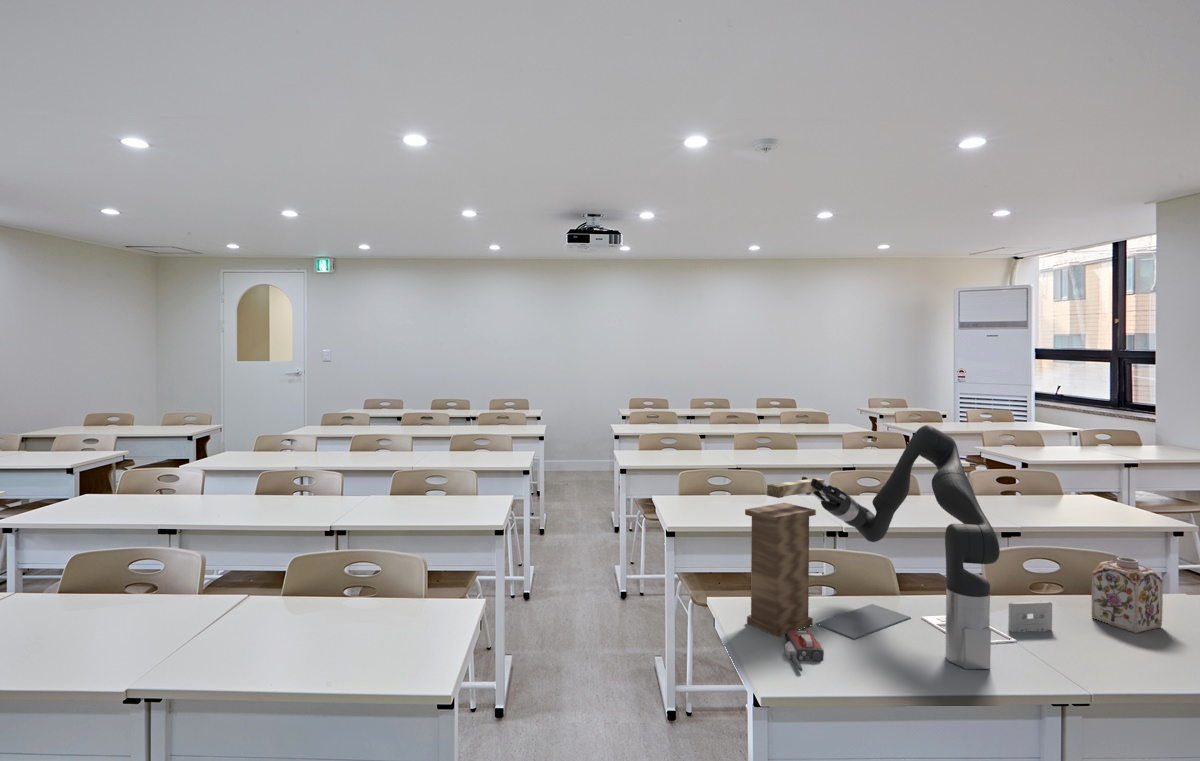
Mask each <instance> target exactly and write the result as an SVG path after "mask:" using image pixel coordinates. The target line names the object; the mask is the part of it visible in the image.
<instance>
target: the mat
mask: <svg viewBox="0 0 1200 761" xmlns="http://www.w3.org/2000/svg"><path fill="white" fill-rule="evenodd" d="M910 619H911V616H909V615H906V614H903V613H900V612H897V611H895V610H892V609H888V608H886V607H883V606H881V605H877V604H874V603H871V604H869V605H865V606H861V607H860V608H856V609H853V610H850V611H848V612H847V611H846V612H845V613H841V614H838V615H835V616H833V617H829V618H827V619H823V620H821V621H818V622H816V623H817V624H820V625H821V626H820V627H822V626H823V627H822V628H824V627H825V628H824V629H827V628H828V629H827V630H829V629H830V630H829V631H832V630H833V631H832V632H834V631H835V633H836V634H839V633H840V634H839V635H841V634H842V636H844V637H847V638H850V639H852V640H857V639H859V638H862V637H864V636H867V635H870V634H873V633H875V632H878V631H881V630H883V629H886V628H888V627H891V626H893V625H894V626H895V625H897V624H900V623H902V622H905V621H908V620H910ZM817 624H816V625H817Z"/></svg>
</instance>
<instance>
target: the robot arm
mask: <svg viewBox="0 0 1200 761" xmlns="http://www.w3.org/2000/svg"><path fill="white" fill-rule="evenodd" d="M919 457H921V458H923V459H925V460H927V461H929V463H930V462H931V463H932V464H933V465H935V467H936V469H937V471H936V472H935V474H934V475H933V477H932V479H931V488H932V491H933V494H934V497H935V500H936V502H937V504H938V505H939V506H940V507H941V508H942V509H943V510H944V511H945V512H946V513H948V515H950V516H952V517H953V518H954V519H956V520H958V521H959V522H961V523H950V524H948V525H947V527H946V529H945V531H944V532H945V533H944V545H945V546H944V548H945V577H946V580H945V581H946V587H945V588H946V589H945V590H946V591H945V592H946V593H945V596H946V597H945V615H946V625H945V630H946V633H945V658H946V660H947V661H948V662H951V663H952V664H954V665H956V666H959V667H961V668H963V669H966V670H969V669H970V670H990V669H991V655H992V654H991V650H992V649H991V646H992V644H991V641H992V640H991V639H992V637H991V636H992V633H991V632H992V630H991V629H989V626H990V619H991V618H990V613H991V612H990V610H991V607H990V606H991V601H990V600H991V584H990V582H989V580H987V579H985V577H982V576H981V575H980V576H979V575H977V574H975V573H973V572H970V571H968V570H966V569H965V567H964V564H974V565H975V564H976V565H977V564H978V565H991V564H992V565H993V564H994V563H996V562H997V561H998V560H999V558H1000V554H1001V553H1000V550H1001V549H1000V542H999V540H998V537H997V534H996V532H995V530H994V528H993V526H992V525H991V523H990V521H989V520H988V518H987V516H986V515H985V513H984V512H983V510H982V508H981V506H980V504H979V501H978V499H977V498H976V493H975V492H974V489H973V487H972V485H971V482H970V479H969V478H968V477H967V474H966V472H965V469H964V466H963V464H962V462H961V458H960V453H959V449H958V446H957V444H956V441H955V440H954V439H953V438H952V437H951V436H950V435H948V434H946V433H944V432H942V430H940V429H937V428H936V427H933V426H932V425H928V424H927V425H923V426H921V427H919V428H918V429H917V430H916V431H915V432H914V433H913V435H912V436H911V438H910V440H909V442H908V443H907V445H906V446H905V449H904V450H903V452H902V454H901V456H900V457H899V459H898V461H897V463H896V466H895V467H894V469H893V471H892V473H890V474H891V475H890V476H889V477H888V479H887V481H886V482H885V483H884V484H883V486H882V487H881V489H880V490H879V492H877V494H875V497H874V498H873V499H872V505H873V508H874V510H875V514H874V513H873V512H872V511H871V510H869V509H868V508H866V507H864V506H862V505H861V504H860V503H858V502H857V501H856V500H855V499H854V498H853V496H850V495H849V494H848V493H846V492H845V491H844V490H842V489H841V488H839V487H837V486H832V485H827V484H826V483H824V484H823V483H821V482H819V481H818V480H816V479H814V478H815V477H813V479H812V478H811V479H812V482H811V486H812V487H814V488H815V489H817V490H819V491H814V492H808V493H804V494H806V496H810V495H812V496H814V497H815V498H817V500H818V501H820V503H821V507H822V508H823V509H824V510H826V511H827V512H828V513H830V514H832V515H833V516H834V517H835V518H837V519H839V520H841V521H843V522H844V523H846V524H847V525H848V526H850V527H853V528H855V529H856V530H857V532H859V533H860V535H862V536H863V537H864V539H865V540H867V541H868V542H871V543H877V542H879V541H880V540H882V539H883V538H884V537H885V536H886V535H887V533H888V530H889V527H890V525H891V523H892V520H893V517H894V515H895V513H896V512H897V510H898V509H899V508H900V506H901V505H902V504H903V503H904V502H905V500H906V498H907V496H908V494H909V492H910V486H911V485H910V484H911V475H912V474H911V473H912V468H913V465H914V463H915V462H916V460H917V459H918V458H919ZM806 479H808V477H806V476H802V477H801V480H806Z"/></svg>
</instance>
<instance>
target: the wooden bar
mask: <svg viewBox="0 0 1200 761" xmlns="http://www.w3.org/2000/svg"><path fill="white" fill-rule="evenodd" d="M813 478H814V479H816V480H818V481H819V482H821V483H823V484H825V479H823V478H818V477H813ZM813 478H807V479H806V480H802V479H801V480H800V479H799V480H795V481H794V480H792V481H787V482H781V483H770V484H767V485H766V496H768V497H771V498H777V499H780V498H785V497H789V496H795V495H802V494H805V493H808V492H814V491H819V490H817V489H815V488H814V487H812V486H811V482H812V479H813Z"/></svg>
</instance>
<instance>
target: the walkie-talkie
mask: <svg viewBox="0 0 1200 761" xmlns="http://www.w3.org/2000/svg"><path fill="white" fill-rule="evenodd" d="M784 638H785V641H786V643H785V644H784V652H785V655H786V657H787V659H789V660H792V661H793V663H794V665H795V666H796V668H797V670H798V671H799V672H803V667H802V666H801V663H800V662H799V661H816V662H818V661H824V656H825V653H824V652H825V651H824V649H823V647H822V646H821V644H820V643H819V642H818V640H817V638H816V637H815V636H814V634H813V633H812V632H810V631H809V630H806V629H805V630H804V629H800V630H789V631H788V632H787V633H786V634H785V635H784Z"/></svg>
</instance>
